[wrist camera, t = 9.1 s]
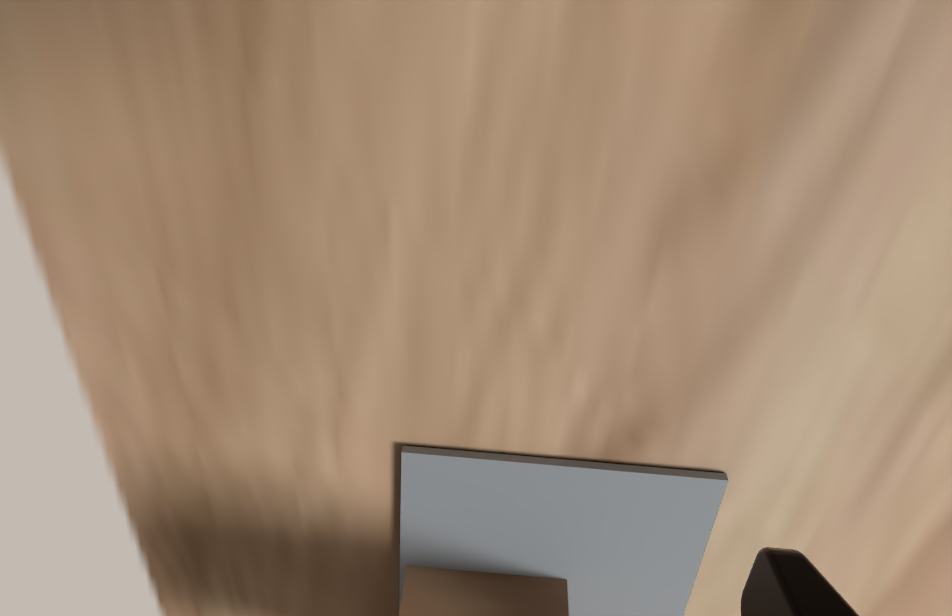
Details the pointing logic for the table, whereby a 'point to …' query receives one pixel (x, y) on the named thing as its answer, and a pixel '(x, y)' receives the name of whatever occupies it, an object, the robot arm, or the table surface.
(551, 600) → the walnut block lower
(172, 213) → the table surface
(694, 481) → the slate mat
